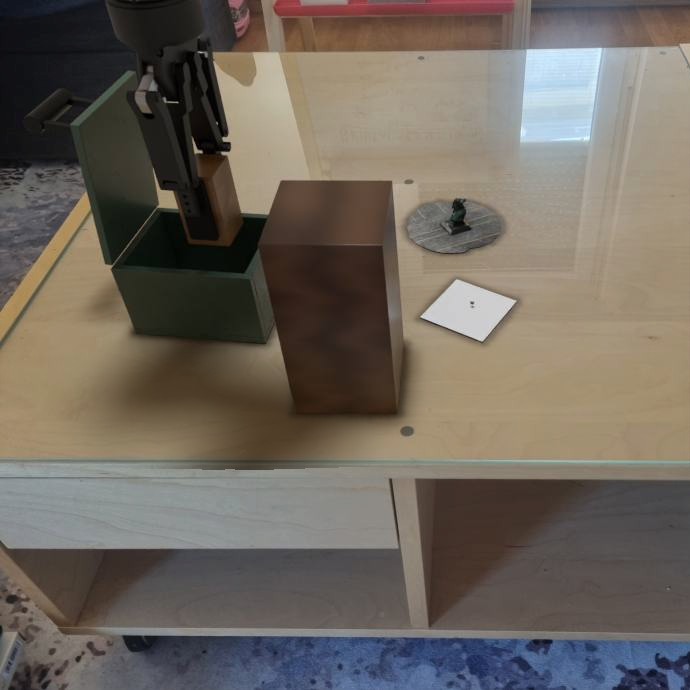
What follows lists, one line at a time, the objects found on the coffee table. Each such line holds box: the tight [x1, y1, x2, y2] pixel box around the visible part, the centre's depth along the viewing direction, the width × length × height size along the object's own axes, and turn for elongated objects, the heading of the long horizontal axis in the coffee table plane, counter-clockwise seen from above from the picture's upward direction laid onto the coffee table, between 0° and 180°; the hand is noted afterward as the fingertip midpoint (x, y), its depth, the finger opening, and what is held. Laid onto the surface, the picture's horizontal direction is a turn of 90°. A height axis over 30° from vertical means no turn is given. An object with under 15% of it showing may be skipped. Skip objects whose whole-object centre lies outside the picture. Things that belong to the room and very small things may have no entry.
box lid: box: [22, 70, 160, 266], centre depth 74 cm, size 15×12×7 cm
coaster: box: [420, 278, 517, 343], centre depth 84 cm, size 8×8×1 cm
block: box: [172, 153, 243, 246], centre depth 76 cm, size 4×4×8 cm
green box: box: [110, 207, 275, 344], centre depth 82 cm, size 15×12×9 cm
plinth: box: [258, 179, 405, 415], centre depth 70 cm, size 10×10×20 cm
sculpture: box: [406, 197, 502, 254], centre depth 97 cm, size 12×9×8 cm
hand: (213, 223), depth 78 cm, fingers closed on block, 4 cm apart
